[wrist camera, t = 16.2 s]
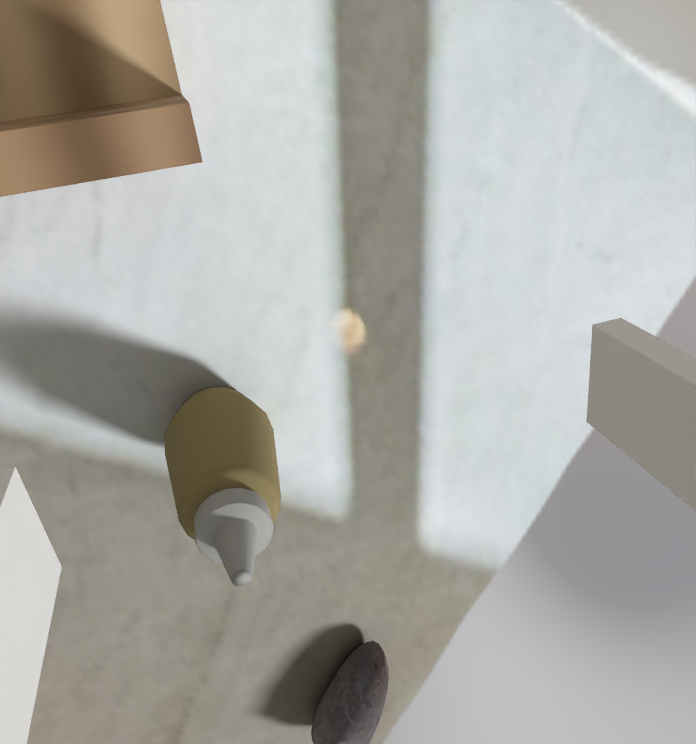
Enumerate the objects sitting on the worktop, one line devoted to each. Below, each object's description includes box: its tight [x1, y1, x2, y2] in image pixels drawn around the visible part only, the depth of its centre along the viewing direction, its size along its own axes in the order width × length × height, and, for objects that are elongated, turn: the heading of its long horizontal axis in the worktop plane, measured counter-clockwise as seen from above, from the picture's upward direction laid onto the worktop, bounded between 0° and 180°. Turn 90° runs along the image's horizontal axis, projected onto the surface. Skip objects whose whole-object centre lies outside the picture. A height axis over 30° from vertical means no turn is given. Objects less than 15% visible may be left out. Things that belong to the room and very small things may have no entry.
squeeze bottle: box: [164, 387, 281, 586], centre depth 42 cm, size 8×8×18 cm
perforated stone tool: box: [311, 641, 388, 744], centre depth 64 cm, size 15×5×7 cm, turn 155°
